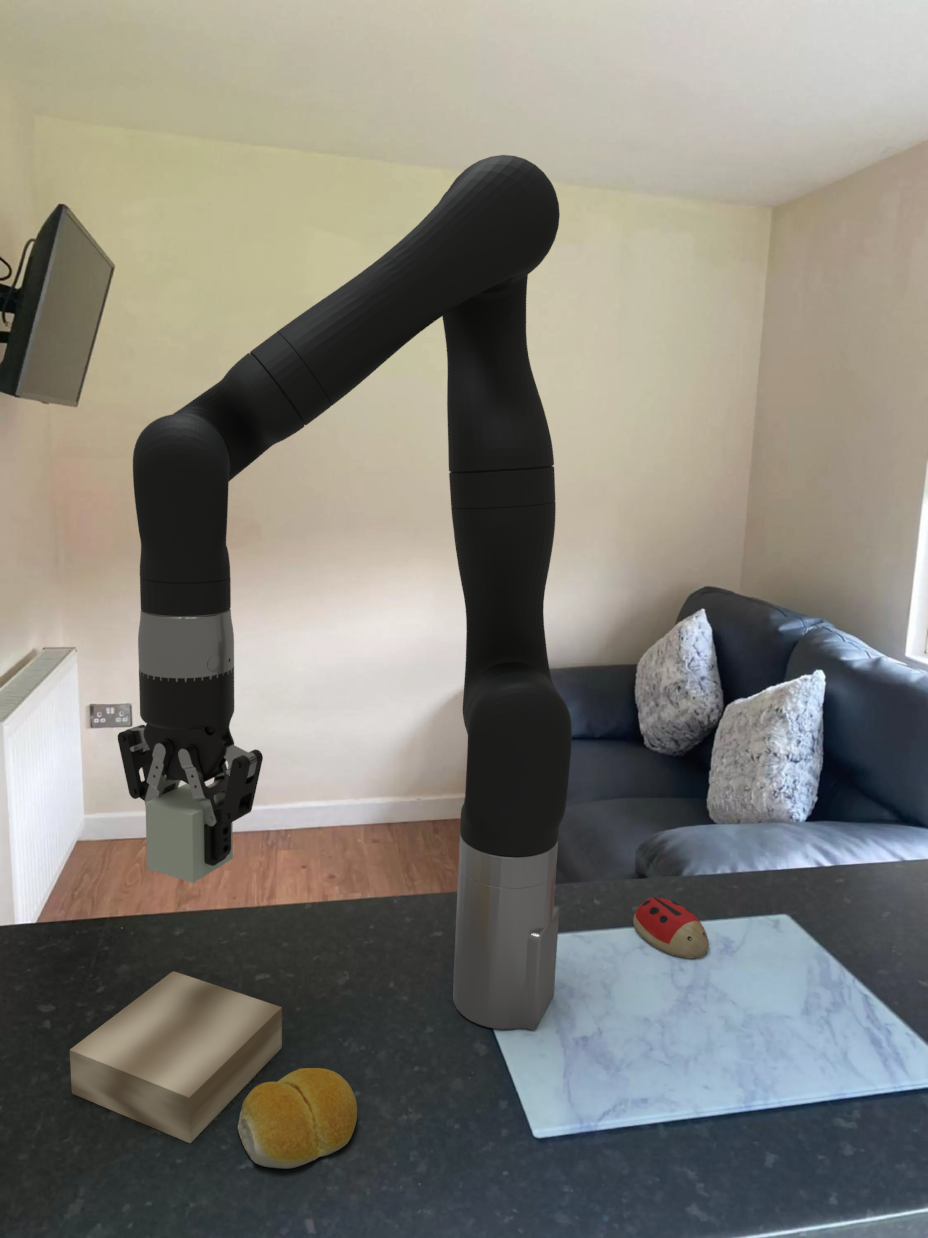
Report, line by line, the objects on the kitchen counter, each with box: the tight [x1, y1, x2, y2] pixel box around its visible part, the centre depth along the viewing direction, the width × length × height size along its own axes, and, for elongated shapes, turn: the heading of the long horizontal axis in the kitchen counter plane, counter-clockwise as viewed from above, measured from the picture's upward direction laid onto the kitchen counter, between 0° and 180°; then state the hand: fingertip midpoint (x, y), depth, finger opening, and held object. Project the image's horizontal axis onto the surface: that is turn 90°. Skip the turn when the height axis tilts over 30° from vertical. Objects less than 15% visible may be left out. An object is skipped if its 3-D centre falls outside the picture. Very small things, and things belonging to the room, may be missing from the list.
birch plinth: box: [69, 971, 283, 1144], centre depth 73 cm, size 12×12×4 cm
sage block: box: [144, 783, 234, 884], centre depth 75 cm, size 5×5×6 cm
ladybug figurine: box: [632, 897, 710, 959], centre depth 97 cm, size 7×10×4 cm
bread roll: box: [237, 1067, 358, 1170], centre depth 68 cm, size 8×9×4 cm
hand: (190, 853), depth 75 cm, fingers closed on sage block, 5 cm apart
